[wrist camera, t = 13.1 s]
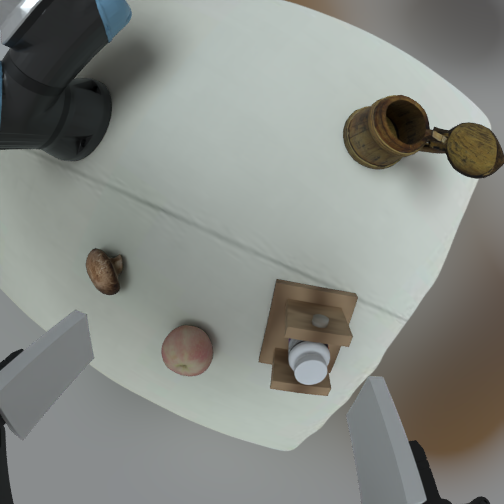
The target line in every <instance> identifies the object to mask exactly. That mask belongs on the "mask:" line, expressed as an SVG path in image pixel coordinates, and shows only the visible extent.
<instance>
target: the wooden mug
mask: <svg viewBox="0 0 504 504" xmlns="http://www.w3.org/2000/svg"><path fill="white" fill-rule="evenodd" d="M343 138H344V143H345V146H346V148H347V150H348V153H349V154H350V155H351V157H352V158H353V159H354V160H355V161H357V162H358V163H359V164H361V165H363V166H366V167H368V168H372V169H384V168H387V167H390V166H392V165H394V164H395V163H397V162H398V161H399V160H401V158H402V157H407V156H410V155H413V154H415V153H416V152H418V151H422V152H430V153H446V155H447V158H448V160H449V162H450V164H451V165H452V167H453V168H454V169H455V170H456V171H458V172H459V173H461V174H463V175H465V176H467V177H471V178H476V179H477V178H485V177H487V176H490V175H492V174H493V173H495V172H496V171H497V170H498V169H499V168H500V167H501V166H502V165H503V164H504V154H503V151H502V148H501V146H500V144H499V142H498V140H497V138H496V136H495V135H494V133H493V132H492V131H491V130H490V129H488V128H486V127H484V126H482V125H480V124H476V123H469V122H468V123H461V124H459V125H457V126H455V127H454V128H452V129H450V130H444V129H440V128H437V127H434V129H433V130H430V128H429V121H428V117H427V114H426V112H425V110H424V109H423V108H422V107H421V105H420V104H418V103H417V102H416V101H414V100H413V99H411V98H409V97H406V96H403V95H397V96H396V95H393V96H388V97H385V98H383V99H380V100H377V101H376V102H375V103H374V104H372V105H371V106H368V107H364V108H361V109H358V110H356V111H354V112H353V113H352V114H351V115H350V116H349V118H348V119H347V121H346V123H345V126H344V130H343ZM427 142H428V143H427Z"/></svg>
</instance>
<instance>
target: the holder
mask: <svg viewBox="0 0 504 504" xmlns="http://www.w3.org/2000/svg"><path fill="white" fill-rule="evenodd" d="M357 299H358V297H357V295H356V293H350V292H345V291H339V290H333V289H328V288H322V287H317V286H311V285H306V284H300V283H295V282H290V281H284V280H279V279H277V280H276V285H275V289H274V294H273V299H272V303H271V308H270V313H269V317H268V322H267V326H266V331H265V335H264V339H263V344H262V348H261V352H260V357H259V362H261V363H266V364H272V375H271V385H270V389H276V390H283V391H290V392H297V393H305V394H313V395H323V396H328V394H329V392H330V390H331V385H330V379H329V373H330V372H331V370H332V367H333V365H334V363H335V360H336V358H337V355H338V352H339V350H340V347H341V346H346V347H349V345H350V343H351V340H352V338H353V336H352V333H351V331H350V328H349V323H350V320H351V317H352V314H353V311H354V308H355V305H356V302H357ZM289 338H291V339H297V340H303V341H310V342H316V343H323V344H328V347H329V352H330V361H329V364H328V366H327V375H326V377H325V378H324V379H323V380H322V381H321V382H319V383H317V384H313V385H305V384H302V383H300V382H298V381H297V380H296V378H295V375H294V371H293V370H292V368H291V367H290V365H289V360H288V350H289Z"/></svg>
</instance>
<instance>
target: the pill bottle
mask: <svg viewBox="0 0 504 504" xmlns="http://www.w3.org/2000/svg"><path fill="white" fill-rule="evenodd" d="M288 360H289V365H290V367H291V368H292V370H293V371H294V375H295V378H296V380H297V381H298V382H300V383H302V384H305V385H313V384H317V383H319V382H321V381H322V380H323V379H324V378H325V377H326V375H327V366H328V364H329V361H330V352H329V347H328V344H323V343H316V342H310V341H303V340H297V339H291V338H289V350H288Z"/></svg>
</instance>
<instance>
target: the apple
mask: <svg viewBox="0 0 504 504" xmlns="http://www.w3.org/2000/svg"><path fill="white" fill-rule="evenodd" d="M212 356H213V348H212V344H211V341H210V339H209V337H208V336H207V334H206V333H205V332H204V331H203V330H202V329H200V328H197V327H194V326H188V325H183V326H180V327H178V328H176V329H174V330H172V331H171V332H170V333H169V335H168V336H167V337H166V338H165V340H164V342H163V345H162V358H163V361H164V363H165V365H166V366H167V367H168V368H169V369H170V370H172V371H174V372H175V373H178V374H180V375H184V376H196V375H199V374H202V373H203V372H204V371H206V370H207V368H208V367H209V365H210V363H211V361H212Z"/></svg>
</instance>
